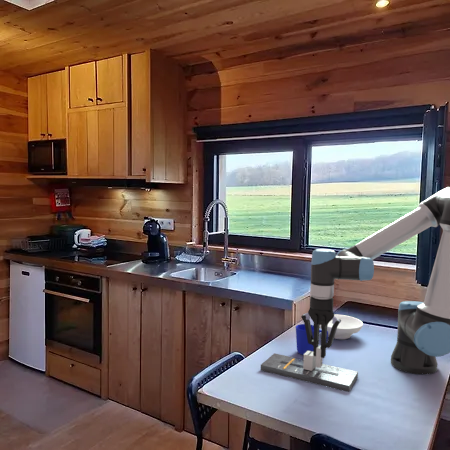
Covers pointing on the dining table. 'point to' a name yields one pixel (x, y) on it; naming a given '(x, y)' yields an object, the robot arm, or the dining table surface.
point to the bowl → (345, 326)
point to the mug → (304, 339)
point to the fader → (309, 361)
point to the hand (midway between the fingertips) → (319, 366)
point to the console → (310, 372)
